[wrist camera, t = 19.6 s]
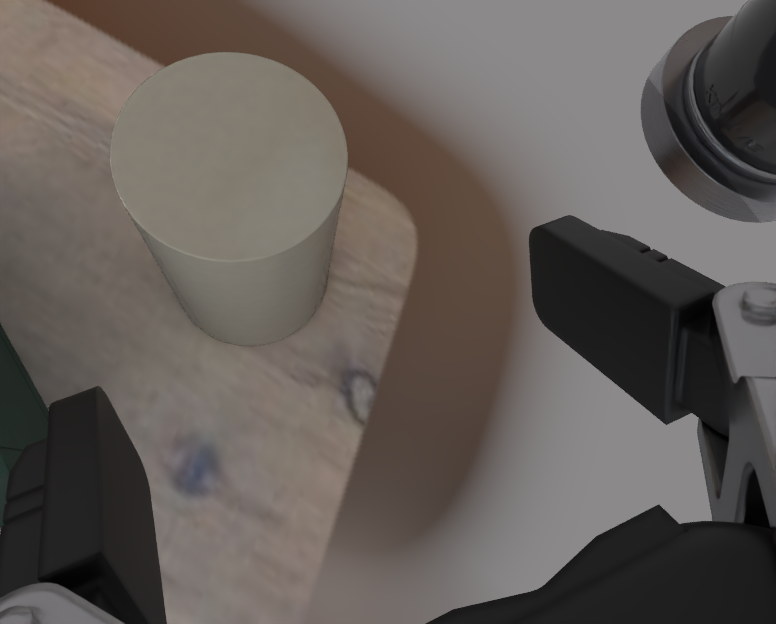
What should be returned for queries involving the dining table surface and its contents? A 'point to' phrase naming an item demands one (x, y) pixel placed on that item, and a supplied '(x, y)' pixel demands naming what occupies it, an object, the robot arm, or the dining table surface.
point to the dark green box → (17, 413)
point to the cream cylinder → (234, 190)
